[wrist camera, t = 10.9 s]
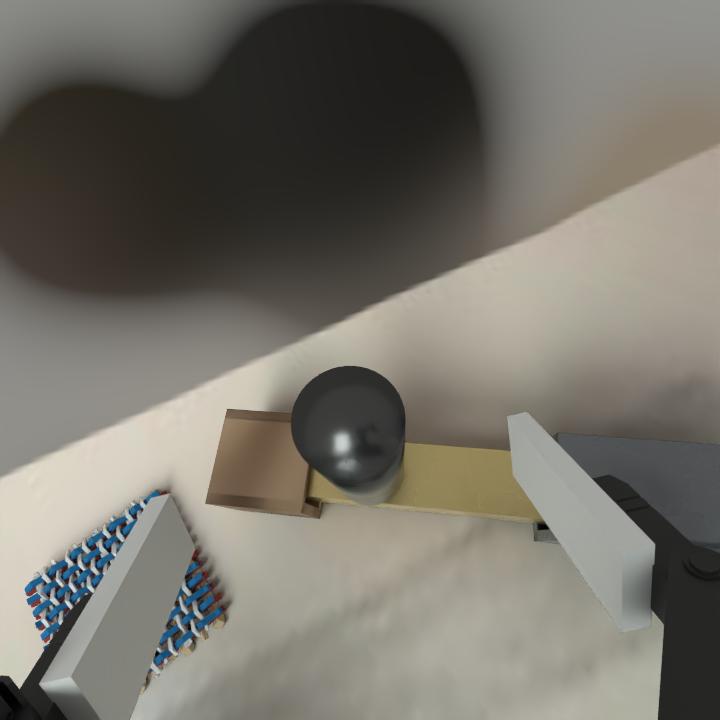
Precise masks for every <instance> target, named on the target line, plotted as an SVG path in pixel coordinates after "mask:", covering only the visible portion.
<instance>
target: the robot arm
mask: <svg viewBox="0 0 720 720" xmlns="http://www.w3.org/2000/svg"><path fill="white" fill-rule="evenodd" d="M507 420H508V430H509V440H510V449H511V459H512V469H513V476H514V477H515V479H516V480H517V482H518V483H519V485H520V486H521V488H522V489H523V491H524V492H525V493H526V495H527V496H528V498H529V499H530V501H531V502H532V504H533V505H534V506H535V508H536V509H537V511H538V512H539V514H540V515H541V517H542V518H543V520H544V521H545V522H546V524H547V525H548V527H549V528H550V530H551V531H552V533H553V534H554V535H555V537H556V538H557V540H558V541H559V543H560V544H561V546H562V547H563V548H564V550H565V551H566V553H567V554H568V556H569V557H570V559H571V560H572V562H573V563H574V564H575V566H576V567H577V569H578V570H579V572H580V573H581V575H582V576H583V577H584V579H585V580H586V582H587V583H588V585H589V586H590V588H591V589H592V591H593V592H594V593H595V595H596V596H597V598H598V599H599V601H600V602H601V604H602V605H603V606H604V608H605V609H606V611H607V612H608V614H609V615H610V617H611V618H612V620H613V621H614V622H615V624H616V625H617V627H618V628H619V630H620V631H621V633H624V632H628V631H633V630H637V629H642V628H646V627H650V626H651V622H652V610H653V612H654V613H655V614H656V615H657V616H658V618H659V619H660V620H661V621H662V623H663V624H664V637H663V652H662V667H661V681H660V696H659V711H658V720H720V553H718V552H716V551H713V550H711V549H708V548H705V547H700V546H695V545H693V544H692V543H691V542H690V541H689V540H688V539H687V538H686V537H685V536H684V535H683V534H681V533H680V532H679V531H678V530H677V529H676V528H675V527H674V526H673V525H672V524H671V523H670V522H668V521H667V520H666V519H665V518H664V517H663V516H662V515H661V514H660V513H659V512H658V511H657V510H655V509H654V508H652V507H651V505H650V504H649V503H648V502H647V501H646V500H645V499H644V498H643V497H642V498H641V497H640V495H639V494H638V493H637V492H636V491H635V490H634V489H633V488H632V487H631V486H630V485H628V484H627V483H626V482H624V481H622V480H620V479H618V478H616V477H614V476H612V475H610V474H609V475H605V476H600V477H596V478H591V477H590V476H589V475H588V474H587V473H586V472H585V471H584V470H583V469H582V468H581V467H580V466H579V465H578V464H577V463H576V462H575V461H574V460H573V459H572V458H571V457H570V456H569V455H568V454H567V453H566V452H565V451H564V450H563V449H562V447H561V446H560V445H559V444H558V443H557V442H556V441H555V440H554V439H553V438H552V437H551V436H550V435H549V434H548V433H547V432H546V431H545V430H544V429H543V428H542V427H541V426H540V425H539V424H538V423H537V422H536V421H535V420H534V419H533V418H532V417H531V416H530V414H529V413H528V412H524V413H519V414H515V415H511V416H507ZM194 551H195V546H194V543H193V541H192V539H191V537H190V535H189V533H188V530H187V528H186V526H185V524H184V522H183V520H182V518H181V515H180V513H179V511H178V509H177V507H176V505H175V502H174V500H173V498H172V496H171V494H166V495H161V496H157V497H153V498H150V500H149V502H148V503H147V505H146V507H145V508H144V510H143V512H142V513H141V515H140V517H139V518H138V520H137V522H136V523H135V525H134V527H133V528H132V530H131V532H130V533H129V535H128V537H127V538H126V540H125V542H124V543H123V545H122V547H121V548H120V550H119V552H118V553H117V555H116V556H115V558H114V560H113V561H112V563H111V565H110V566H109V568H108V570H107V571H106V573H105V575H104V576H103V578H102V580H101V581H100V583H99V585H98V586H97V588H96V590H95V591H94V593H92V594H88V595H85V596H84V597H83V598H82V599H81V600H80V601H79V602H78V603H77V604H76V605H75V606H74V607H73V608H72V609H71V610H70V611H69V612H68V614H67V616H66V617H65V619H64V620H63V622H62V623H61V625H60V627H59V628H58V632H56V633H55V635H54V636H53V638H52V639H51V641H50V642H49V646H47V647H46V649H45V650H44V652H43V653H42V655H41V657H40V658H39V660H38V661H37V663H36V664H35V666H34V668H33V669H32V671H31V672H30V674H29V676H28V677H27V679H26V680H25V682H24V683H23V685H22V687H21V688H20V690H19V688H18V687H17V686H16V684H15V683H14V682H13V681H12V679H11V678H10V677H9V676H0V720H130V718H131V716H132V713H133V711H134V708H135V705H136V703H137V700H138V697H139V695H140V692H141V690H142V687H143V684H144V682H145V679H146V677H147V674H148V671H149V669H150V666H151V663H152V661H153V658H154V656H155V653H156V650H157V648H158V645H159V643H160V640H161V637H162V635H163V632H164V629H165V627H166V624H167V622H168V619H169V616H170V614H171V611H172V609H173V606H174V603H175V601H176V598H177V595H178V593H179V590H180V588H181V585H182V582H183V580H184V577H185V575H186V572H187V569H188V567H189V564H190V561H191V559H192V556H193V554H194Z"/></svg>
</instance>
